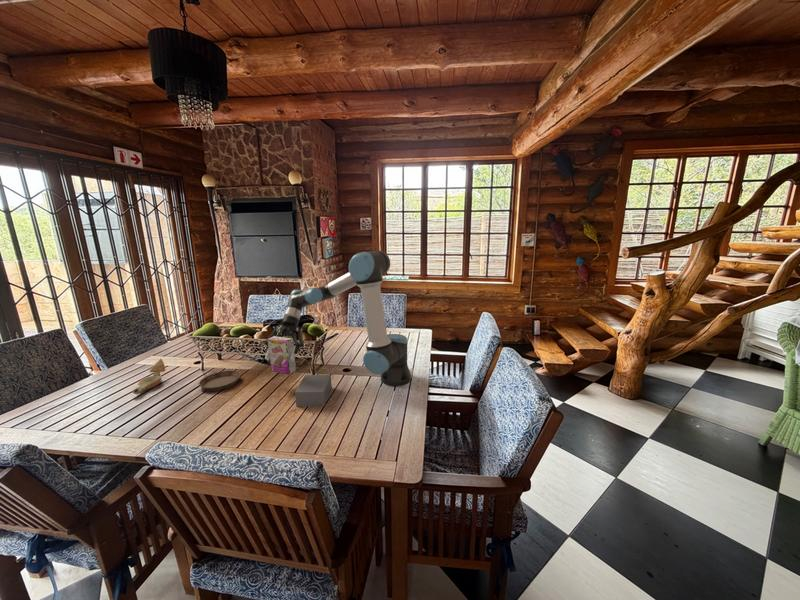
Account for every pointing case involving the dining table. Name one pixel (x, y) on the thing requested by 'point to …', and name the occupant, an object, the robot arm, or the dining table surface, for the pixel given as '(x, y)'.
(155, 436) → the dining table surface
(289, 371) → the candy bar box
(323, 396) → the charcoal block
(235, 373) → the plant saucer
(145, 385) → the oil lamp
